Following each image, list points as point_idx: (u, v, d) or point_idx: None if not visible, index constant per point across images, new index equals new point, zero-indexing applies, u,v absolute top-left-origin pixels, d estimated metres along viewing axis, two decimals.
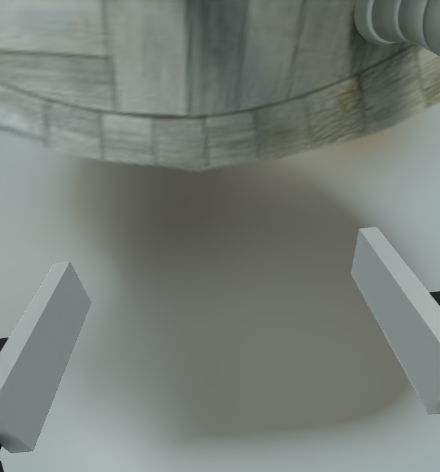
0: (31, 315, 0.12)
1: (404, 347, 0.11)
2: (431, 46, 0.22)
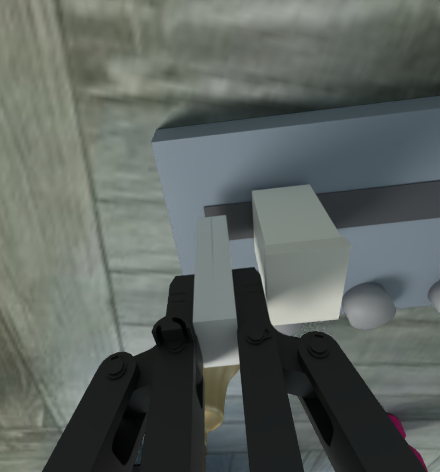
0: (204, 255, 0.13)
1: None
2: None
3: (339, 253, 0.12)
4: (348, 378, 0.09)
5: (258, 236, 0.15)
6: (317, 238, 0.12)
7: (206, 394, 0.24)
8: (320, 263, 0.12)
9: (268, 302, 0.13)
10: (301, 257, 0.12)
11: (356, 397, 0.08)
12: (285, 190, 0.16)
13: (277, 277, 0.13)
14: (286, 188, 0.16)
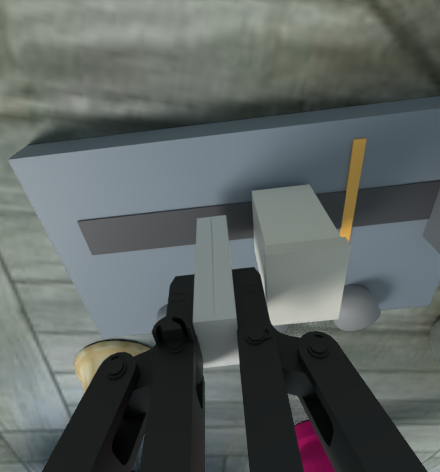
0: (204, 255, 0.13)
1: None
2: None
3: (339, 253, 0.12)
4: (348, 378, 0.09)
5: (258, 236, 0.15)
6: (316, 238, 0.12)
7: None
8: (320, 263, 0.12)
9: (268, 302, 0.13)
10: (300, 258, 0.12)
11: (356, 397, 0.08)
12: (285, 190, 0.16)
13: (277, 277, 0.13)
14: (286, 188, 0.16)
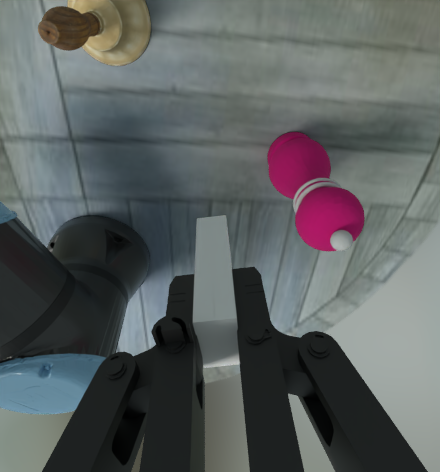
0: (203, 255, 0.13)
1: None
2: None
3: None
4: (349, 378, 0.09)
5: None
6: None
7: None
8: None
9: None
10: None
11: (356, 397, 0.08)
12: None
13: None
14: None
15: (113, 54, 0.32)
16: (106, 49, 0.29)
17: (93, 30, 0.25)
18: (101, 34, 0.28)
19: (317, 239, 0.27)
